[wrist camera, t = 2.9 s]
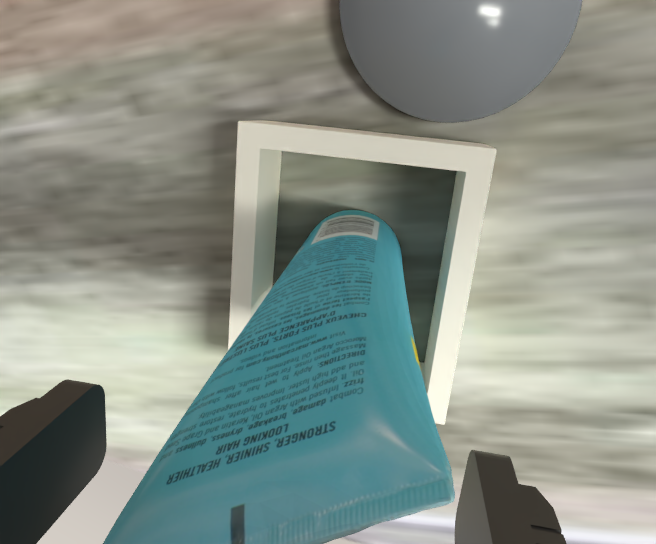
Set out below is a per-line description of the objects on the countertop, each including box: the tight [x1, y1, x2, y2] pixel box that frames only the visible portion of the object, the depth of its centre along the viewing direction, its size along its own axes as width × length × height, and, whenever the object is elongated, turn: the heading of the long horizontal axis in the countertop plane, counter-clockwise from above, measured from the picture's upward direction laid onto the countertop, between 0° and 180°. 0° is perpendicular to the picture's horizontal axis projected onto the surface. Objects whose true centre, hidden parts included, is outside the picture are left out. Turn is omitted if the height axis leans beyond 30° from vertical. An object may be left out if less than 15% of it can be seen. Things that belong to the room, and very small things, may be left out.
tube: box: [103, 210, 455, 544], centre depth 18 cm, size 7×5×19 cm, turn 122°
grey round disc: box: [339, 0, 582, 123], centre depth 22 cm, size 10×10×1 cm
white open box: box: [228, 120, 497, 425], centre depth 25 cm, size 10×12×4 cm
